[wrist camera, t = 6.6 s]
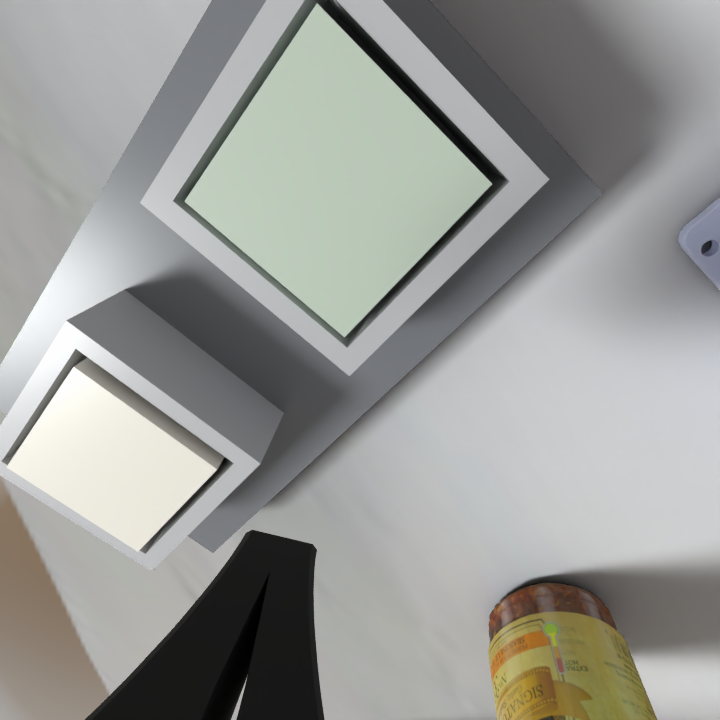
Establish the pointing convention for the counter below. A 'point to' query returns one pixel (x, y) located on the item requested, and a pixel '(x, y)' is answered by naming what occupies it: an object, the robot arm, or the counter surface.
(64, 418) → the cream key
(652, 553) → the counter surface
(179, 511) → the key console
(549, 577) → the counter surface
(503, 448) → the counter surface
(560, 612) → the sauce bottle
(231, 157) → the sage key
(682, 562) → the counter surface
